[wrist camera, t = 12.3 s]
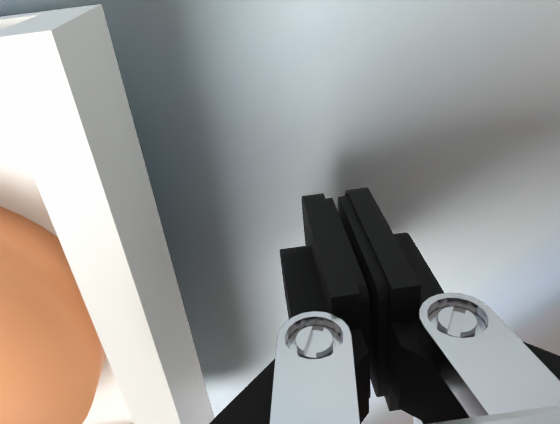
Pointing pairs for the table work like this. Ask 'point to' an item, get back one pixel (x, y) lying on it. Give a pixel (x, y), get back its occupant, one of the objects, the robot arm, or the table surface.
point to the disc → (43, 330)
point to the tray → (97, 209)
